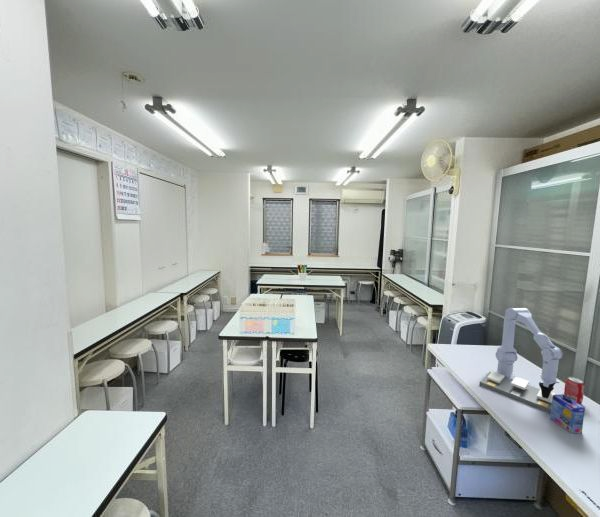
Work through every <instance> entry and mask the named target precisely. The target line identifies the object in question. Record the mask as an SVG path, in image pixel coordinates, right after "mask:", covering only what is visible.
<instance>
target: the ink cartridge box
mask: <svg viewBox="0 0 600 517" xmlns="http://www.w3.org/2000/svg"><path fill="white" fill-rule="evenodd" d="M585 410H586V407H585V406H583V405H581V404H578V403H576V402H574V401H573V400H571V399H570V398H568V397H567V396H565V395H564V393H562V394H556V395H553V399H552V407H551V413H550V416H549V418H550V420H552V421H554V423H556V424H558V426H561V427H562V428H563V429H565V430H566V431H567V432H569V433H570V434H582V433H583V427H584V419H585Z"/></svg>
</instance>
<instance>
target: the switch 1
mask: <svg viewBox="0 0 600 517" xmlns="http://www.w3.org/2000/svg"><path fill="white" fill-rule="evenodd" d="M490 372H491V373H490V375H489V376H488V377H487V379H489V380H491V381H494V382H497V383H499V384H500V382H501V381H502V380H503V379H504V377H505V375H502V374H499V373H496V372H497V371H490Z"/></svg>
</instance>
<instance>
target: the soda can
mask: <svg viewBox="0 0 600 517" xmlns="http://www.w3.org/2000/svg"><path fill="white" fill-rule="evenodd" d="M584 383H585V382H584V381H583V380H582V379H580V378H577V377H573V376H567V378H566V379H565V383H564V389H563V390H564V391H563V395H565V396H567V397H568V398H570V399H571V400H573V401H574V402H576V403H578V404H580V405H581V404H582V403H583V400H584V393H585V385H586V384H584Z"/></svg>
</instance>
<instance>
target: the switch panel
mask: <svg viewBox="0 0 600 517" xmlns="http://www.w3.org/2000/svg"><path fill="white" fill-rule="evenodd" d="M491 372H492V371H489V372H488V373H487V374H486V375H485V376H484V377H483V378H482V379H481V380H480V381H479V386H481V387H483V388H487V389H489V390H491V391H493V392H497V393H499V394H501V395H504V396H507V397H509V398H511V399H514V400H516V401H519V402H521V403H524V404H526V405H529V406H531V407H534V408H537V409H538V410H541V411H544V412H547V413H549V414H551V407H552V403H549V402H547V401H544V400H541V399H539V398H537V394H538V392H539V391H540V389H541V388H538V387H534V386H532V385H529V384H528V386H527V387H526V389H525V390H523V389H521V388H518V387H515V386H513V385H511V382H512V381H513V379H514V378H512V379H510V378H507V377H504V379H503V380H502V381H501V382H500V384H499V383H497V382H494V381H491V380H489V379H487V377H488V376H489V375H490V373H491Z"/></svg>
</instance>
